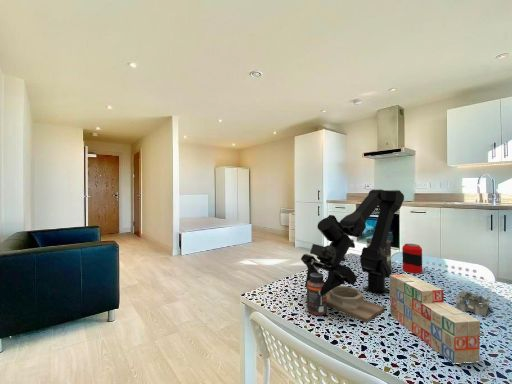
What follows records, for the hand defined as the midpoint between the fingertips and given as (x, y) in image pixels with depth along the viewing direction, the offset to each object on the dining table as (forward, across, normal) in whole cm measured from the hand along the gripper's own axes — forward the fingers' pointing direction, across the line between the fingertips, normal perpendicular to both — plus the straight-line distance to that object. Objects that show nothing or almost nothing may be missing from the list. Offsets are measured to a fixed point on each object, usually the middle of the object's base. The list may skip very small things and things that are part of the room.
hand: (313, 290), depth 74 cm
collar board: (-4, +2, +14) cm, 14 cm away
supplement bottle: (+4, 0, +6) cm, 7 cm away
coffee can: (-33, -12, +43) cm, 55 cm away
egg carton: (-26, +25, +36) cm, 51 cm away
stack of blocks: (-7, +24, +16) cm, 30 cm away
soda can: (-41, -3, +51) cm, 66 cm away
